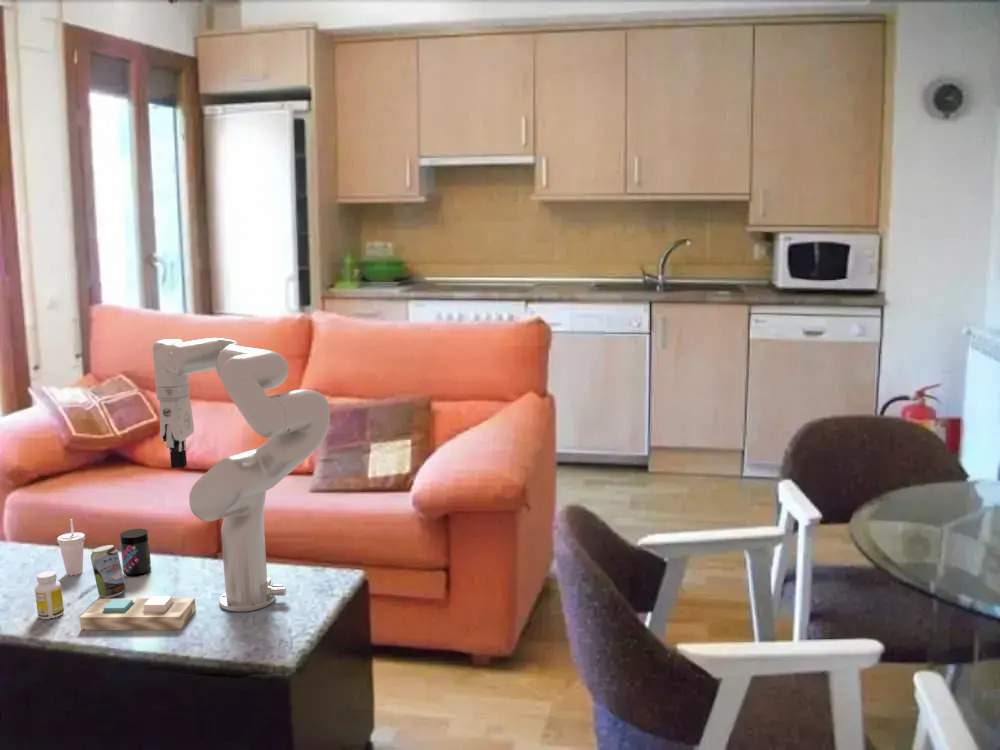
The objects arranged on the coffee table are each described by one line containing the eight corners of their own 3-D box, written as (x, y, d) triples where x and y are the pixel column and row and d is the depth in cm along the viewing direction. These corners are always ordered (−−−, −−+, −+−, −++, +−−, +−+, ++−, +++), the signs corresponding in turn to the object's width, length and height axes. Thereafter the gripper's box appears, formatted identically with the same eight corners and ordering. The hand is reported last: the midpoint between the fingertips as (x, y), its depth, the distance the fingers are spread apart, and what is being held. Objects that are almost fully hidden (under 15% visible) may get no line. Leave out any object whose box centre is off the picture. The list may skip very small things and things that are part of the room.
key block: (195, 610, 226) (194, 598, 225) (180, 629, 216) (179, 616, 215) (100, 611, 226) (99, 598, 226) (81, 630, 217) (79, 617, 216)
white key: (172, 608, 223) (171, 596, 222) (165, 617, 218) (164, 604, 218) (152, 608, 223) (151, 596, 222) (144, 617, 219) (143, 604, 218)
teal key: (133, 611, 223) (132, 599, 223) (125, 620, 219) (124, 607, 218) (113, 612, 223) (112, 599, 223) (104, 620, 219) (103, 608, 218)
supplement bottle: (64, 608, 228) (60, 568, 226) (63, 617, 223) (59, 576, 221) (38, 612, 226) (34, 571, 224) (37, 621, 221) (32, 580, 220)
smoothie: (93, 571, 251) (88, 518, 248) (71, 579, 245) (65, 525, 243) (78, 566, 254) (72, 514, 251) (55, 574, 249) (49, 521, 246)
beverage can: (116, 601, 232) (112, 552, 229) (88, 599, 233) (83, 551, 231) (131, 590, 238) (127, 543, 235) (104, 589, 239) (99, 541, 237)
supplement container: (122, 570, 251) (118, 531, 249) (150, 565, 253) (146, 527, 252) (124, 579, 245) (120, 539, 243) (153, 574, 247) (149, 535, 246)
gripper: (177, 398, 226) (183, 475, 230) (199, 385, 241) (204, 458, 244) (145, 398, 227) (151, 476, 230) (168, 385, 241) (174, 458, 245)
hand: (179, 466), depth 237 cm, fingers closed
